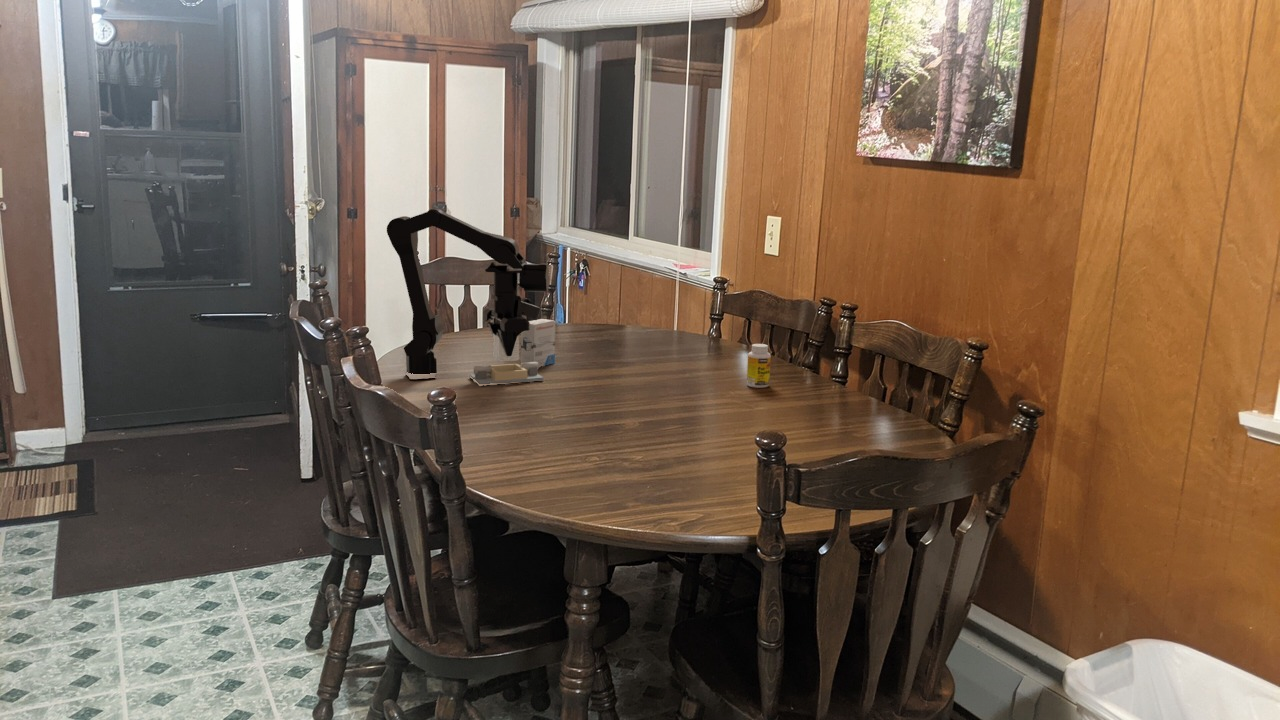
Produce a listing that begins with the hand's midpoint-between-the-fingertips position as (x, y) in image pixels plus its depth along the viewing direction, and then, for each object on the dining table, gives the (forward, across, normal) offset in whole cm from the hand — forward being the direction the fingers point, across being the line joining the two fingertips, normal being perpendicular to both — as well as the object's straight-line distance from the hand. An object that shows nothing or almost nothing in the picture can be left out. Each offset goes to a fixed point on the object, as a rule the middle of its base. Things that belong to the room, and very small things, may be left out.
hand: (505, 353), depth 245 cm
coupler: (+1, 0, 0) cm, 1 cm away
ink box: (+7, +13, -13) cm, 20 cm away
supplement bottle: (+6, -26, -56) cm, 62 cm away
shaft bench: (+6, 0, 0) cm, 7 cm away
